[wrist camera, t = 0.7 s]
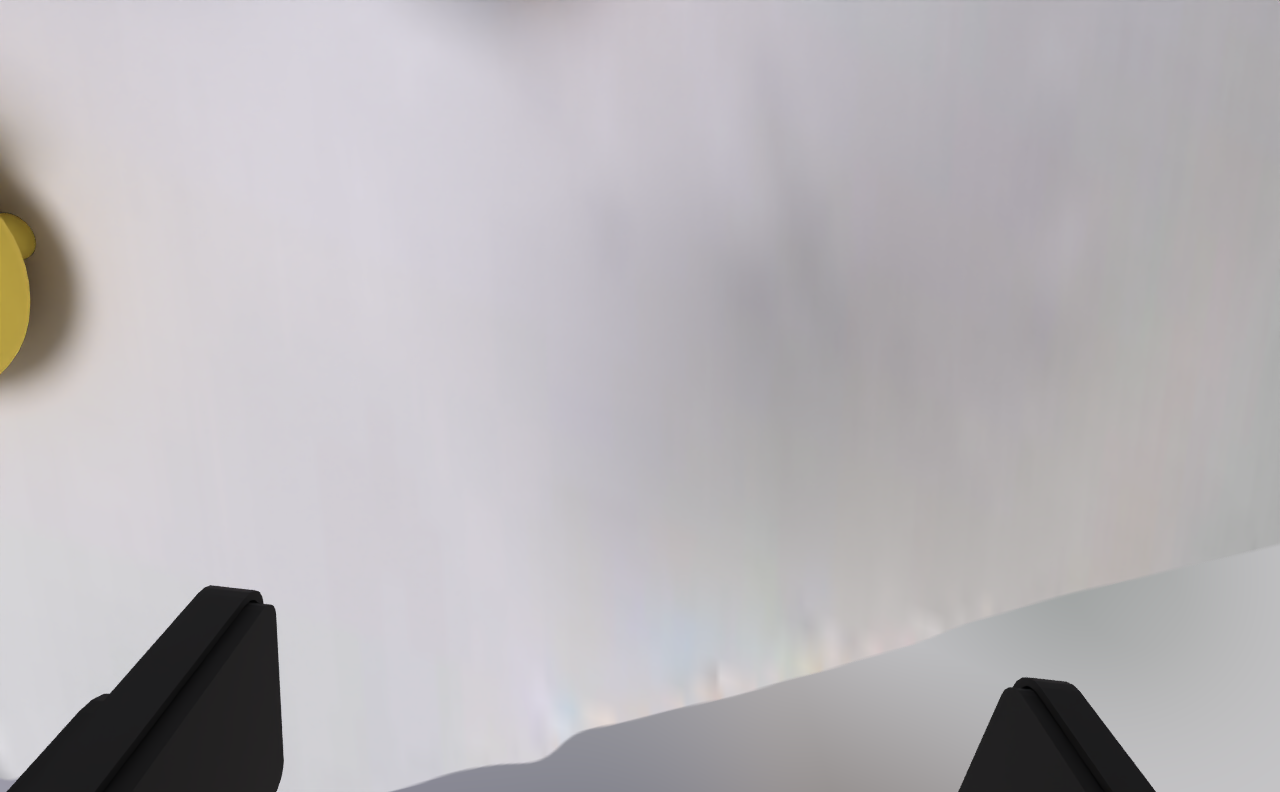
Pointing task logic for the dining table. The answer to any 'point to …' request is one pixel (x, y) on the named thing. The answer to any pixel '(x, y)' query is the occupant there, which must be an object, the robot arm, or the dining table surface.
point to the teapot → (13, 285)
